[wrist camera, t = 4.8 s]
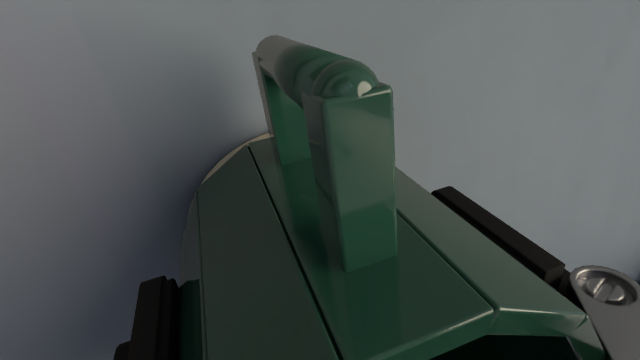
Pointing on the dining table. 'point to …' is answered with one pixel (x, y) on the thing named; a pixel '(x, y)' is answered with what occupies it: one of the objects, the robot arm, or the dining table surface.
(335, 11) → the dining table surface
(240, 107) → the dining table surface
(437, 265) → the green mug
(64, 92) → the dining table surface
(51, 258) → the dining table surface
